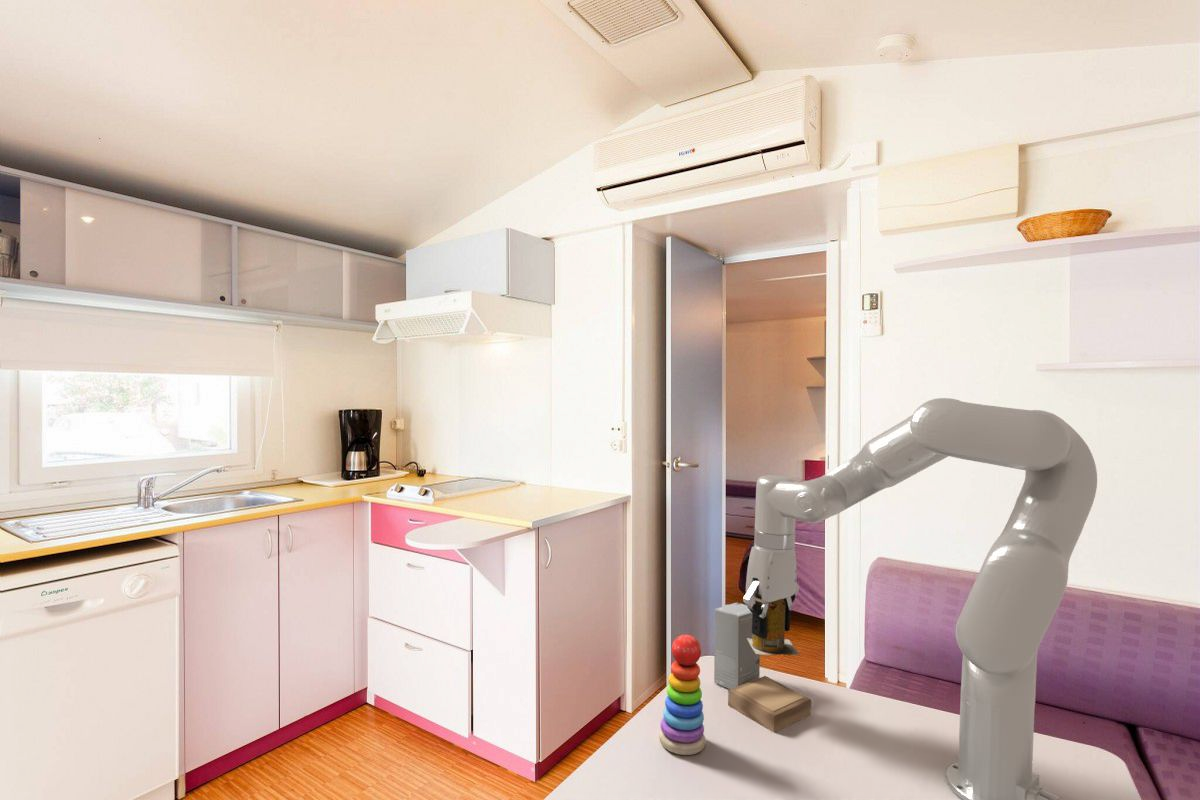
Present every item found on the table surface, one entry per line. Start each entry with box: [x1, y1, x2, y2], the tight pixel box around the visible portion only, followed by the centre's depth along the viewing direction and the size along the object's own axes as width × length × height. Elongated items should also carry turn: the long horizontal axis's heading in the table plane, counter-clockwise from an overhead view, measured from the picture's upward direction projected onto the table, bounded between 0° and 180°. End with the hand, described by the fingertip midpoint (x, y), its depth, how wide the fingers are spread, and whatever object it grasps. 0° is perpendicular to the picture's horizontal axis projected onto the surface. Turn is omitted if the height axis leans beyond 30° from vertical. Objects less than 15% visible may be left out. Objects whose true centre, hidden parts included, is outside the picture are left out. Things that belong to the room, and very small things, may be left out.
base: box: [727, 675, 812, 733], centre depth 115 cm, size 11×11×3 cm
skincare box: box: [713, 602, 761, 690], centre depth 125 cm, size 8×7×16 cm
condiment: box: [747, 595, 801, 656], centre depth 115 cm, size 7×8×12 cm
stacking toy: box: [658, 634, 706, 756], centre depth 103 cm, size 8×8×19 cm
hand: (770, 631), depth 115 cm, fingers closed on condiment, 6 cm apart
